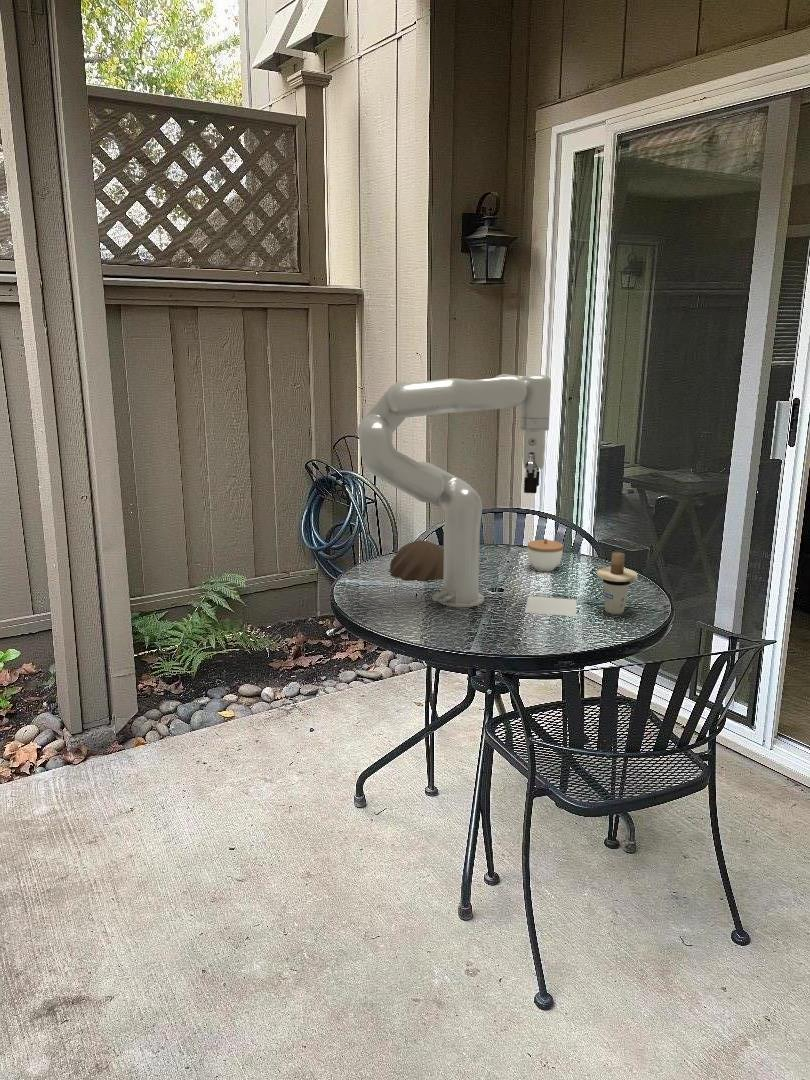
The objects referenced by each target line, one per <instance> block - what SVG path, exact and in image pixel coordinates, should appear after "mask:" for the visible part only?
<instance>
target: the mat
mask: <svg viewBox="0 0 810 1080" xmlns="http://www.w3.org/2000/svg"><path fill="white" fill-rule="evenodd" d="M577 602H578V601H577V599H573V598H572V599H571V598H558V597H556V598H555V597H544V596H528V597H527V600H526V603H525V604H526V605H525V608H524V613H526V614H537V615H553V616H565V617H566V616H567V617H577V605H578V603H577Z"/></svg>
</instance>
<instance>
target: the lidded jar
mask: <svg viewBox="0 0 810 1080" xmlns="http://www.w3.org/2000/svg"><path fill="white" fill-rule="evenodd" d="M563 550H564V544H563V543H562V542H559V541H555V540H550V539H548V538H543V539H535V540H532V541H529V542H528V543H527V556H528V561H529V562H530V564H531V566H532V567H533V568H534V569H535V570H536V571H539V572H552V571H555V569H556V568H557V567H558V566H559V564H560V563H561V561H562V557H563Z"/></svg>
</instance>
